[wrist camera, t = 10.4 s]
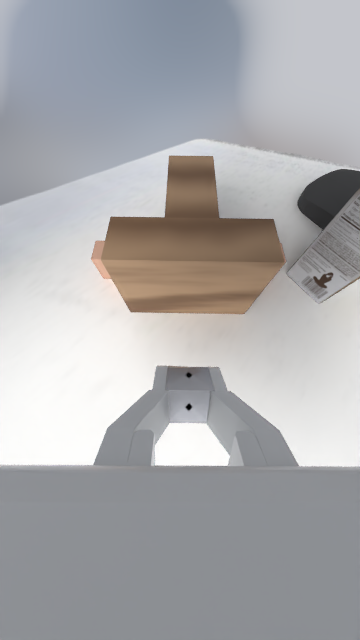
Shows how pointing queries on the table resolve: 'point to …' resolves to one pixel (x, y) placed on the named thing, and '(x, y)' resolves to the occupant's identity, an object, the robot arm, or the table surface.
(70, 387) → the table surface
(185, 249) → the t block
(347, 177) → the media streaming box
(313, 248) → the coffee box
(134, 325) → the table surface
